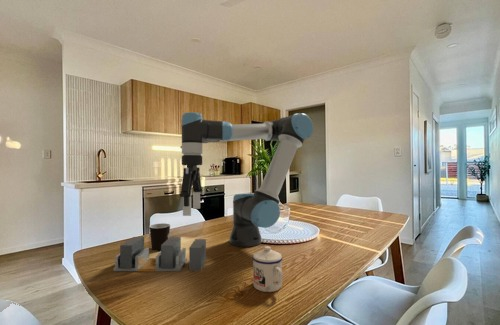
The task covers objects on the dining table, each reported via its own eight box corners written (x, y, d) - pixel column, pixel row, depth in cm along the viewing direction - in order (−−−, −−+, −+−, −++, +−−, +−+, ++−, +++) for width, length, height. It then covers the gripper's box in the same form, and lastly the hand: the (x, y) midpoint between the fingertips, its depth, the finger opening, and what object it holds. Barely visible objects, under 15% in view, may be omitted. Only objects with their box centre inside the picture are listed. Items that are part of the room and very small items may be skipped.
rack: (187, 260, 95) (187, 236, 96) (179, 271, 85) (180, 245, 86) (127, 260, 95) (127, 236, 95) (112, 271, 85) (112, 245, 85)
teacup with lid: (247, 282, 78) (247, 245, 78) (271, 276, 82) (271, 240, 82) (268, 301, 67) (268, 257, 67) (294, 292, 72) (294, 252, 72)
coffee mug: (163, 252, 104) (163, 228, 104) (144, 251, 106) (145, 227, 106) (177, 244, 115) (177, 222, 115) (160, 242, 117) (160, 221, 117)
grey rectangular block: (205, 259, 96) (205, 239, 97) (200, 270, 86) (200, 247, 87) (195, 259, 96) (195, 239, 97) (189, 270, 86) (189, 247, 87)
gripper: (190, 155, 106) (191, 206, 105) (170, 153, 81) (170, 219, 80) (208, 155, 105) (208, 206, 105) (193, 153, 80) (193, 219, 80)
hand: (192, 211), depth 93 cm, fingers open, 13 cm apart
